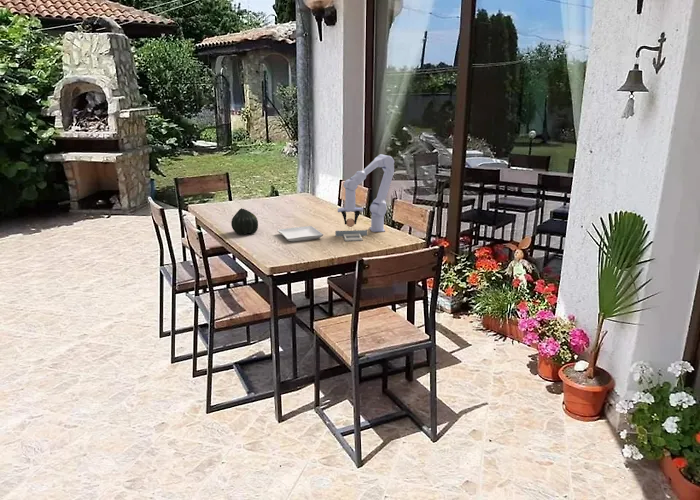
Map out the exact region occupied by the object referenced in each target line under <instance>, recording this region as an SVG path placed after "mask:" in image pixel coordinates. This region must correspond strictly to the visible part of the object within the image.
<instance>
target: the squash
mask: <svg viewBox="0 0 700 500" xmlns="http://www.w3.org/2000/svg"><path fill="white" fill-rule="evenodd" d="M230 223H231V224H230V225H231V228H232V230H233V232H235V234H238V235H240V236H242V235H245V234H250V235H252V234H255V233H256V232H258V229H259V220H258V218H257V215H255V214H254V213H252V212H251V211H250V210H247V209H246V208H239V209H238V211H237V212H236V213H235V214H234V215H233V216H232V218H231V222H230Z"/></svg>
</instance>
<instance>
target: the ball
mask: <svg viewBox="0 0 700 500" xmlns="http://www.w3.org/2000/svg"><path fill="white" fill-rule="evenodd" d="M354 220H355V219H354V218H352V217H351V218H350V217H349V218H348V219H347V218H346V225H345V226H346V227H349V228H352V227H353V226H355V225H356V224H355V221H354Z"/></svg>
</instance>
